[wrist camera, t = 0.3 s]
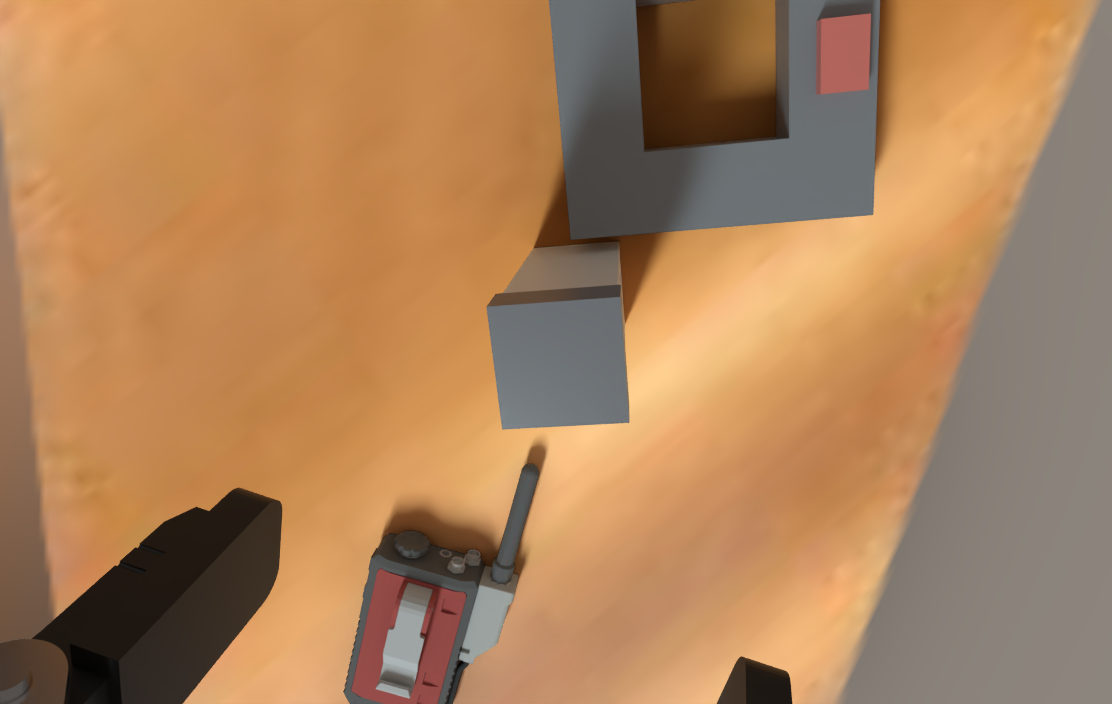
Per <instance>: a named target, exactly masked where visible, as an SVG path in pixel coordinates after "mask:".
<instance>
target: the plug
mask: <svg viewBox="0 0 1112 704" xmlns="http://www.w3.org/2000/svg"><path fill="white" fill-rule="evenodd" d="M487 314H488V322H489V329H490V337H491V345H492V353H493V361H494V369H495V376H496V384H497V392H498V400H499V408H500V416H501V423H502V429H520V428H538V427H557V426H576V425H594V424H613V423H629V394H628V380H627V366H626V352H625V318H624V304H623V290H622V276H621V262H620V248H619V241H615V242H603V243H591V244H579V245H566V246H554V247H542V248H533V250H532V251H531V253H530V254H529V256H528V257H527V258H526V260H525V261H524V263H523V264H522V266H521V267H520V269H519V270H518V272H517V273H516V275H515V276H514V278H513V279H512V281H511V282H510V284H509V285H508V286H507V288H506V289H505V291H504V292H503V293H500V294H495V296H494V297H493V298H492V300H491V301H490V303H489V304H488V305H487Z"/></svg>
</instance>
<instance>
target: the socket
mask: <svg viewBox="0 0 1112 704" xmlns="http://www.w3.org/2000/svg"><path fill="white" fill-rule="evenodd" d="M684 1H693V0H549V5H550V16H551V27H552V38H553V49H554V61H555V72H556V83H557V94H558V105H559V116H560V127H561V138H562V149H563V160H564V171H565V182H566V193H567V204H568V216H569V227H570V238H571V240H575V239H587V238H599V237H611V236H623V235H635V234H648V233H660V232H672V231H684V230H696V229H708V228H721V227H733V226H745V225H757V224H769V223H781V222H793V221H806V220H818V219H830V218H842V217H854V216H866V215H873V207H874V176H875V144H876V113H877V82H878V50H879V19H880V0H775V7H776V137H765V138H755V139H744V140H734V141H723V142H713V143H702V144H692V145H681V146H671V147H660V148H650V149H644V138H643V121H642V104H641V87H640V70H639V53H638V35H637V18H636V7H641V6H650V5H658V4H667V3H675V2H684Z"/></svg>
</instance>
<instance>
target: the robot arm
mask: <svg viewBox="0 0 1112 704" xmlns="http://www.w3.org/2000/svg"><path fill="white" fill-rule="evenodd" d="M281 524H282V505H281V502H280V501H278V500H275V499H272V498H269V497H266V496H263V495H260V494H257V493H254V492H251V491H248V490H245V489H242V488H236V489H234V490H232V491H231V492H229V493H228V494H227V495H226V496H225V497H224V498H223V499H222V500H221V501H220V502H219V503H218V504H216V505H215V506H214V507H213V508H212V509H211V510H210V511H207V510H204V509H201V508H198V507H195V508H193V509H191V510H189V511H187V512H184V513H182V514H180V515H178V516H176V517H174V518H171V519H169V520H167V521H165V522H164V523H162V524H161V525H160V526H159V527H158V528H157V529H156V530H155V531H153V532H152V533H151V534H150V535H149V536H148V537H147V538H146V539H144V540H143V541H142V542H141V543H140V546H139V547H138V548H134V549H133V550H132V551H131V552H130V553H129V554H127V555H126V556H125V557H124V558H123V559H122V560H121V561H120V564H119V565H118V566H114V567H113V568H112V569H111V570H109V571H108V572H107V573H106V574H105V575H104V576H103V577H102V578H100V579H99V580H98V581H97V582H96V583H95V584H94V585H93V586H91V587H90V588H89V589H88V590H87V591H86V592H85V593H84V594H82V595H81V596H80V597H79V598H78V599H77V600H76V601H75V602H73V603H72V604H71V605H70V606H69V607H68V608H67V609H66V610H64V611H63V612H62V613H61V614H60V615H59V616H58V617H56V618H55V619H54V620H53V621H52V622H51V623H50V624H49V625H47V626H46V627H45V628H44V629H43V630H42V631H41V632H39V633H38V634H37V635H36V636H34V637H33V638H32V639H18V640H11V641H7V642H2V643H0V704H183V702H184V701H185V700H186V699H187V697H188V696H189V695H190V694H191V692H192V691H193V690H194V689H195V688H196V686H197V685H198V684H199V683H200V681H201V680H202V679H203V678H204V676H205V675H206V674H207V673H208V671H209V670H210V669H211V668H212V666H213V665H214V664H215V663H216V661H217V660H218V659H219V658H220V656H221V655H222V654H223V653H224V651H225V650H226V649H227V648H228V646H229V645H230V644H231V643H232V641H233V640H234V639H235V638H236V636H237V635H238V634H239V633H240V631H241V630H242V629H243V628H244V626H245V625H246V624H247V623H248V622H249V620H250V619H251V618H252V617H253V615H254V614H255V613H256V612H257V610H258V609H259V608H260V607H261V605H262V604H263V603H264V601H265V600H266V598H267V597H268V595H269V593H270V591H271V589H272V587H273V585H274V583H275V580H276V577H277V574H278V569H279V558H280V541H281ZM717 704H792V695H791V683H790V677H789V674H788V672H787V671H784V670H781V669H778V668H775V667H772V666H769V665H766V664H763V663H760V662H757V661H754V660H751V659H748V658H745V657H740V658H739V659H738V660H737V662H736V664H735V666H734V668H733V670H732V672H731V674H730V676H729V679H728V681H727V683H726V685H725V687H724V689H723V691H722V693H721V696H720V698H719V700H718V702H717Z"/></svg>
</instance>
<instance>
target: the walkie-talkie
mask: <svg viewBox="0 0 1112 704" xmlns="http://www.w3.org/2000/svg"><path fill="white" fill-rule="evenodd" d="M538 477H539V469H538V467H537V466H536V465H535V464H526V465H525V466H524V467H523V468H522V471H521V474H520V478H519V482H518V485H517V489H516V492H515V496H514V500H513V503H512V507H511V510H510V514H509V517H508V521H507V525H506V528H505V532H504V535H503V539H502V542H501V546H500V550H499V553H498V557H496V558H495V559H494V562H493V566H492V567H489V566H485V565H484V563H483V560H482V559H481V558H480V555H481V554H480V552H479V551H477V550H474V549H471V550H469V551H468V553H467V554H463V553H460V552H456V551H452V550H449V549H445V548H442V547H438V546H435V545H431V544H430V542H429V539H428V538H427V537H426V536H425V535H424V534H422V533H420V532H416V531H404V532H401V533H400V534H398V535H396V534H392V533H389V534H388V535H387V536H385V537H384V538H383V540H382V542H381V544H380V545H379V547H378V549H377V548H376V550H375V552H374V553H373V555H372V557H371V561H370V565H369V575H368V580H367V583H366V585H365V588H364V593H363V603H362V607H361V612H360V617H359V618H360V620H359V622H358V625H359V626H358V628H357V631H356V632H357V634H356V636H355V639H356V640H355V642H354V645H353V646H354V648H353V650H352V653H353V654H352V656H351V662H350V664H349V667H350V668H349V670H348V676H347V678H346V680H347V681H346V683H345V689H344V691H343V692H344V694H345V696H346V698H347V700H348V701H349V703H350V704H453V701H454V697H455V694H456V690H457V687H458V683H459V680H460V677H461V674H462V671H463V670H464V669H465V668H466V667H467V666H468V665H469V663H471V664H473V661H474V658H475V657H477V656H479V655H480V654H482V653H484V652H485V651H487V650H489V649H490V648H492V647H493V646H495V645H496V644H497V643H498V640H499V637H500V633H501V630H502V627H503V623H504V620H505V617H506V613H507V610H508V607H509V604H511V603H512V602H513V599H514V595H515V591H516V587H517V582H518V578H519V576H518V575H517V574H514V573H513V571H514V568H515V562H514V560H515V556H516V553H517V549H518V546H519V542H520V539H521V535H522V532H523V529H524V525H525V522H526V518H527V515H528V511H529V508H530V504H531V501H532V497H533V494H534V491H535V487H536V484H537V480H538ZM459 660H461V661H460V663H459V665H458V662H459ZM457 665H458V667H457Z"/></svg>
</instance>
